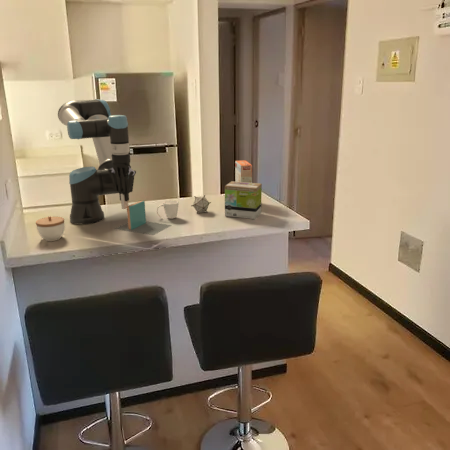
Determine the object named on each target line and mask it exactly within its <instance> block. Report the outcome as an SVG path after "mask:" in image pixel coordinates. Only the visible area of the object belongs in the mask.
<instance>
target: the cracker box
mask: <svg viewBox="0 0 450 450" xmlns="http://www.w3.org/2000/svg"><path fill="white" fill-rule="evenodd" d="M234 164H235V166H234V168H235V171H234V173H235V175H234V176H235V181H234V182H247V183H253V165H252V164H251V163H250V162H249V161H247V160H245V159H242V160H235V162H234Z"/></svg>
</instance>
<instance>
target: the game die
mask: <svg viewBox="0 0 450 450" xmlns="http://www.w3.org/2000/svg"><path fill="white" fill-rule="evenodd" d="M211 203H212V201H211V202H209V200H208V199H207V197H206V194H205V195H204V194H203V196H194V200H193V204H192V205H190V207H193V208H194V210H195V211H196V214H199V213H204V212H206V213H207V214H208V213H209V212H208V208H209V206H210V204H211Z"/></svg>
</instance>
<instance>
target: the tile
mask: <svg viewBox="0 0 450 450" xmlns="http://www.w3.org/2000/svg"><path fill="white" fill-rule="evenodd" d="M126 214H127V223H128V228H129V229H131V230H133V229H135V228H137V227H139V226H141V225H143V224H145V223H146V221H147V218H146V217H147V216H146V203H145V200H140V201H139V200H138V201H136V202H134V203H131V204H128V206H127V208H126Z"/></svg>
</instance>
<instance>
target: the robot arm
mask: <svg viewBox="0 0 450 450" xmlns="http://www.w3.org/2000/svg"><path fill="white" fill-rule="evenodd" d="M57 118H58V120H59V122H60V123H61V124H63V125H64V126H66V128H67V130H66V131H67V135H68V138H69V139H70V140H82V139H83V140H85V139H92V142H93V145H94V148H95V152H96V156H97V159H98V163H99V165H98V168H96V167H95V166H83V167H79V168H76V169H73V170H72V171H70V173H69V175H68V176H69V177H68V178H69V181H68V182H69V183H68V184H69V187H70V195H71V208H70V209H71V210H70V214H69V221H70V223H72V224H76V225H89V224H91V225H92V224H95V223H98V222H100V221H103V220H104V219H105V213H104V211H103V207H102V206H101V204H100V203H101V202H100V199H99V197H100V196H105V195H106V196H107V195H115V194H119V201H120V202H121V209H123V210H127V206H129V201H130V195H129V194H130V193H133V192H134V191H133V189H134V183H135V176H136V174H137V170H133V169H132V166H131V154H130V152H131V150H130V139H129V122H128V117H127V116H126V114H125V115H124V114H123V115H122V114H113V115H112V113H111V108H110V105H109V104H108V102H107V101H106V100H104V99H98V98H96V99H79V100H76V99H75V100H69V101H67V102H65V103H63V104H62V105H61V106H60V107H59V108H58V110H57Z"/></svg>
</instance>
